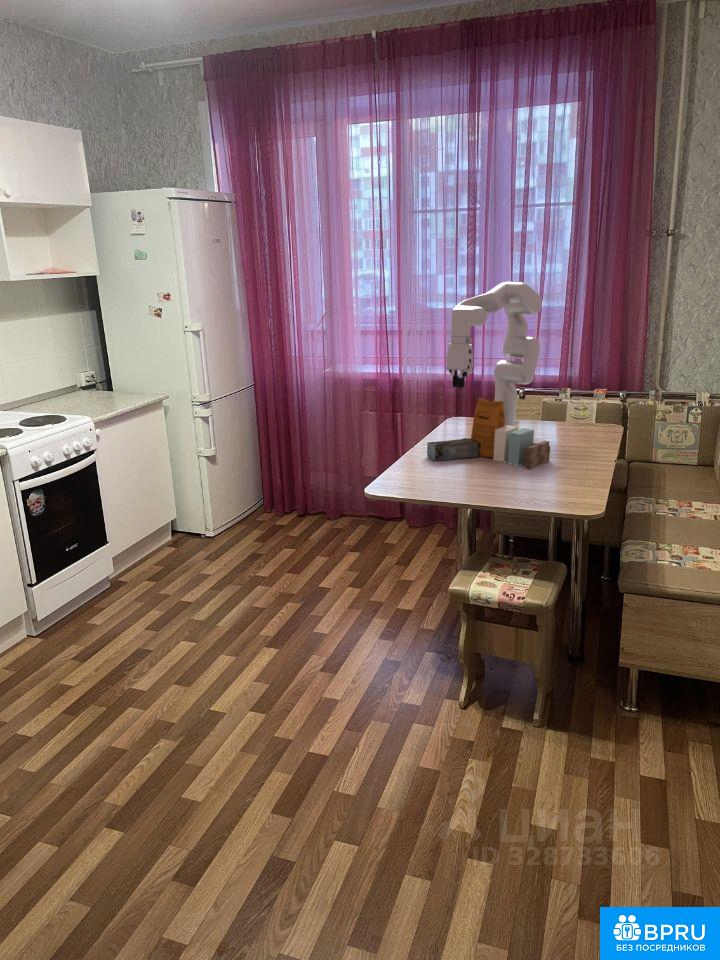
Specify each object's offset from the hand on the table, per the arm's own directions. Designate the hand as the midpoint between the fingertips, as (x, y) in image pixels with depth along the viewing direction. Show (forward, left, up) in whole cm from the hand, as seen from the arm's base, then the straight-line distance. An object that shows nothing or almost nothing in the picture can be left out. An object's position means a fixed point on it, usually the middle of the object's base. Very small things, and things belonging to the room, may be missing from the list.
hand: (458, 386), depth 294 cm
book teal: (0, +30, -25) cm, 39 cm away
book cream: (0, +23, -25) cm, 34 cm away
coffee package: (0, +15, -25) cm, 29 cm away
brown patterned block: (-1, +28, -25) cm, 38 cm away
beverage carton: (+12, +8, -25) cm, 29 cm away
